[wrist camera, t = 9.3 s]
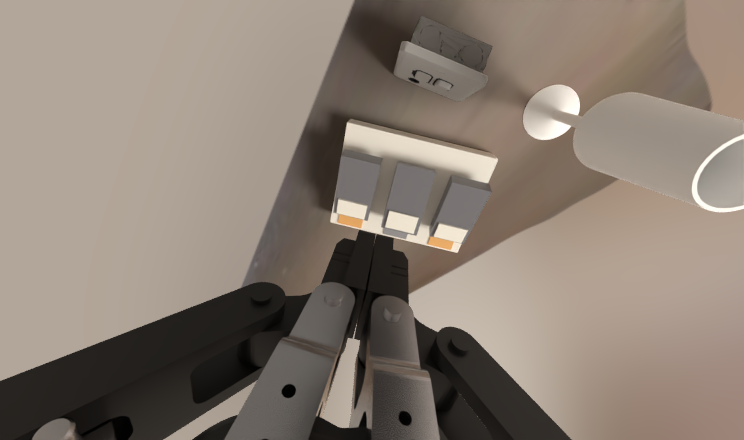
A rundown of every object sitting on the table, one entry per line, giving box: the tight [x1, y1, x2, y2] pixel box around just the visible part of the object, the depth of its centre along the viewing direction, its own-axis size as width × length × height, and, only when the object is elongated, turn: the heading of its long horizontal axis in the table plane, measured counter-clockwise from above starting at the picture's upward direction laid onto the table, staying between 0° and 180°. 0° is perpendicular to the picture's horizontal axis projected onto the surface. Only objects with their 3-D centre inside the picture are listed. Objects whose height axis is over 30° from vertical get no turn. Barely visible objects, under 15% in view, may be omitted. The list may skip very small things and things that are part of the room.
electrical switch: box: [393, 16, 492, 102], centre depth 32 cm, size 9×5×9 cm, turn 70°
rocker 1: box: [333, 149, 383, 221], centre depth 39 cm, size 9×5×2 cm, turn 168°
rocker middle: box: [381, 161, 436, 236], centre depth 39 cm, size 9×5×2 cm, turn 167°
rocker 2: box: [429, 175, 492, 244], centre depth 39 cm, size 9×5×2 cm, turn 168°
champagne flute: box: [523, 85, 744, 212], centre depth 27 cm, size 7×7×24 cm
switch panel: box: [330, 119, 498, 253], centre depth 42 cm, size 15×20×4 cm
